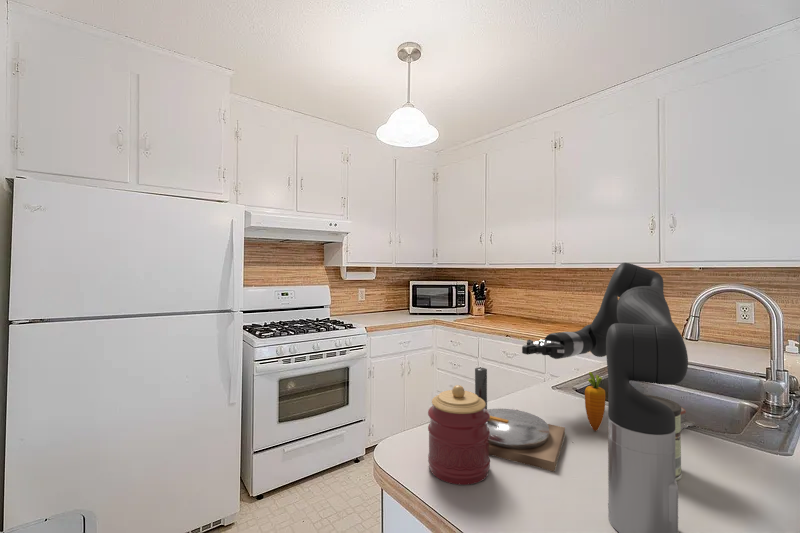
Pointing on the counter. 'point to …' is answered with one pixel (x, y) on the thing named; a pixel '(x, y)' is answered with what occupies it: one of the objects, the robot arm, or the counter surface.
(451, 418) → the canister
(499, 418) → the wheel
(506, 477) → the counter surface
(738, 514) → the counter surface
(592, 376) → the carrot
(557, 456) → the base board
